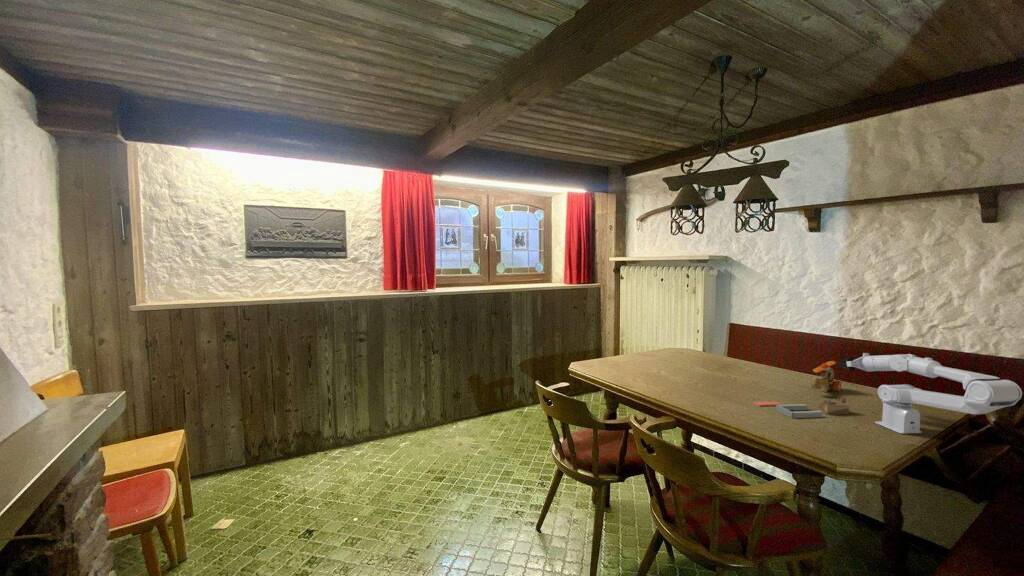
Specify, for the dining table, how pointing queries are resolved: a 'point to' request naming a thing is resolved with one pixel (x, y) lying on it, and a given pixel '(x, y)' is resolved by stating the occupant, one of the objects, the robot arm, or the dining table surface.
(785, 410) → the cradle jig
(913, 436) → the dining table surface
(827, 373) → the orange handled valve
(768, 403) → the wing plank
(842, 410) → the fuselage block
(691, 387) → the dining table surface
